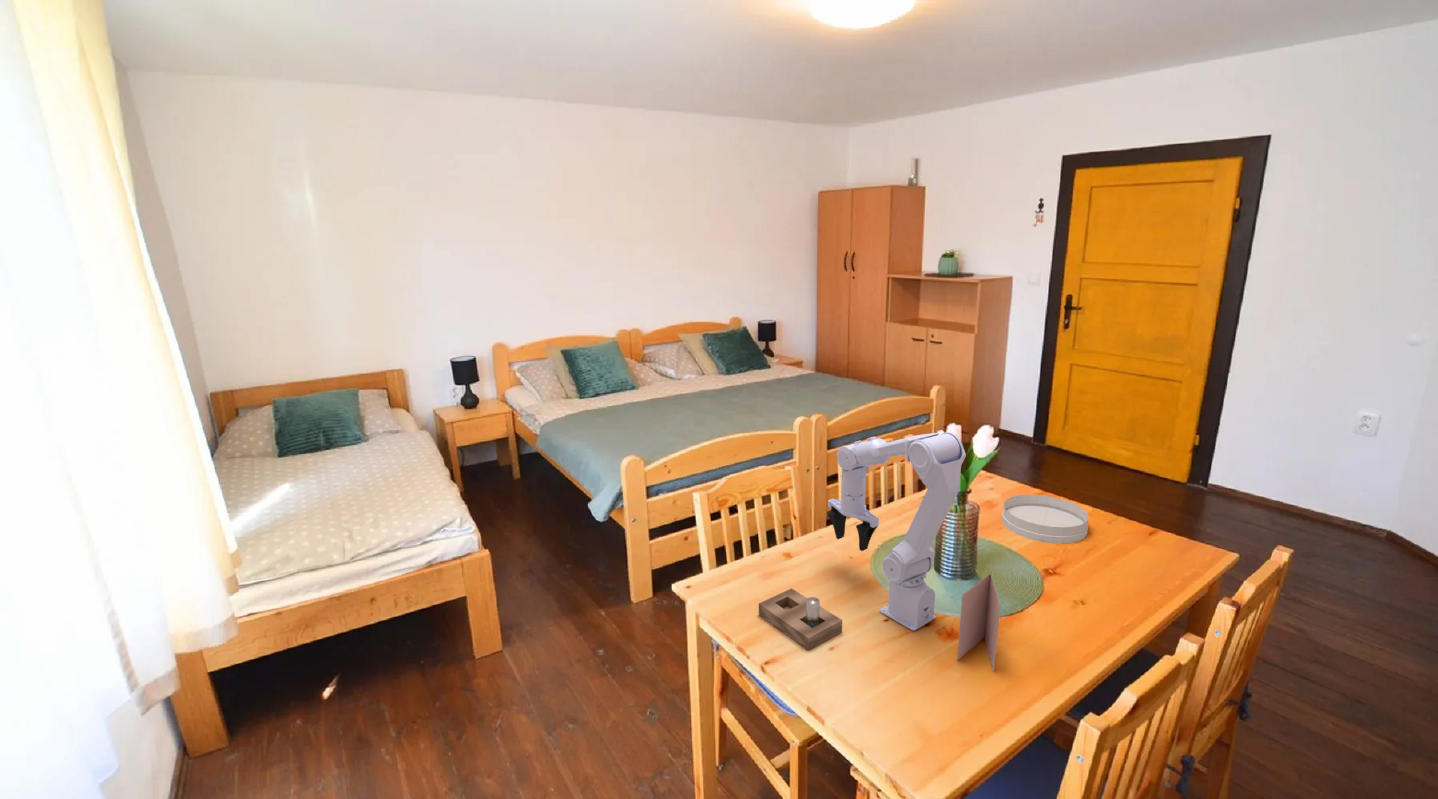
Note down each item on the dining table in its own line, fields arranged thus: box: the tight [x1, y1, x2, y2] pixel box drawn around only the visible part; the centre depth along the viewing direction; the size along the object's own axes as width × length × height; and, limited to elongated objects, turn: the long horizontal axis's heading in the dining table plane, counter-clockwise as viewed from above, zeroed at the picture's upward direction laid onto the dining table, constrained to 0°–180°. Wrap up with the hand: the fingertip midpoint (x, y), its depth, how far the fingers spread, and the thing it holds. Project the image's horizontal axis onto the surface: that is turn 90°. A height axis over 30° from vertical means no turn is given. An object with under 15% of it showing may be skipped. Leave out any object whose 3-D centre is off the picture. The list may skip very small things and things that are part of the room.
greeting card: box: [956, 573, 1001, 673], centre depth 128 cm, size 11×7×15 cm, turn 131°
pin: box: [806, 596, 821, 628], centre depth 138 cm, size 3×3×7 cm
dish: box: [1001, 494, 1089, 544], centre depth 183 cm, size 22×22×5 cm
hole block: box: [758, 588, 843, 651], centre depth 141 cm, size 16×10×3 cm, turn 36°
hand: (851, 543), depth 157 cm, fingers open, 7 cm apart
